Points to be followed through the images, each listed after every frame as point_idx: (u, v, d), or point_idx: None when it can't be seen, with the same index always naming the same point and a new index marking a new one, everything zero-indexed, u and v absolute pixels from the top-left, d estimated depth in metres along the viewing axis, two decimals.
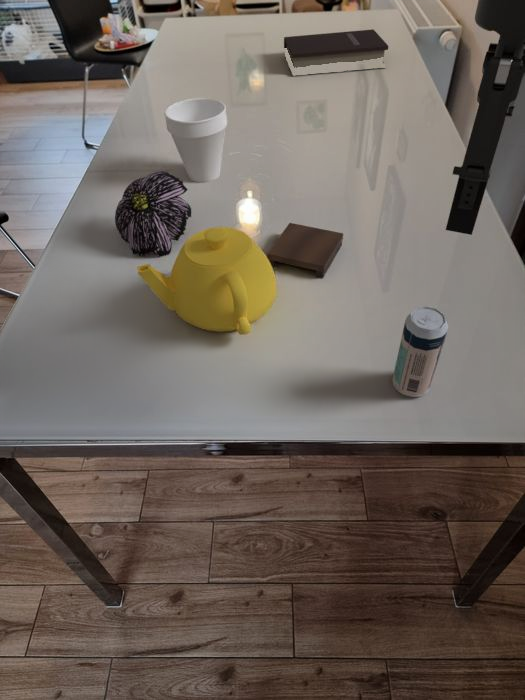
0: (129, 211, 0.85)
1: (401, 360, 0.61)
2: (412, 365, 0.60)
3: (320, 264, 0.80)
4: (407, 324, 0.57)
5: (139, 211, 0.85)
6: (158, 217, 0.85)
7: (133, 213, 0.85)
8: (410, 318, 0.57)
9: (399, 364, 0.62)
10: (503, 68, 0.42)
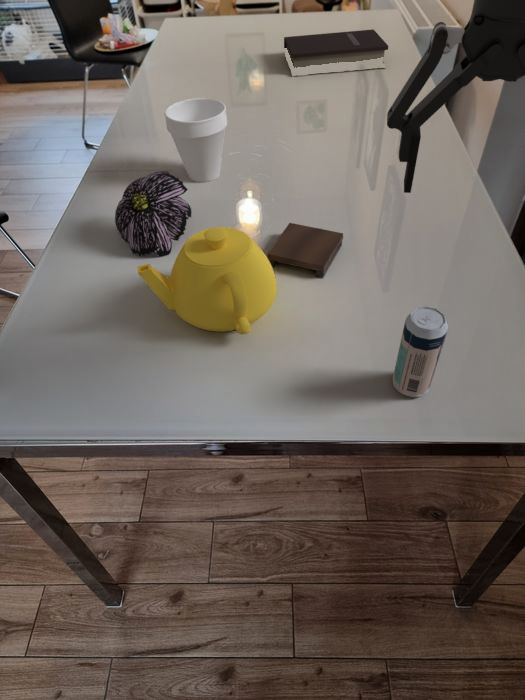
0: (129, 211, 0.85)
1: (401, 360, 0.61)
2: (412, 365, 0.60)
3: (320, 264, 0.80)
4: (407, 324, 0.57)
5: (139, 211, 0.85)
6: (158, 217, 0.85)
7: (133, 213, 0.85)
8: (410, 318, 0.57)
9: (399, 364, 0.62)
10: (433, 32, 0.47)
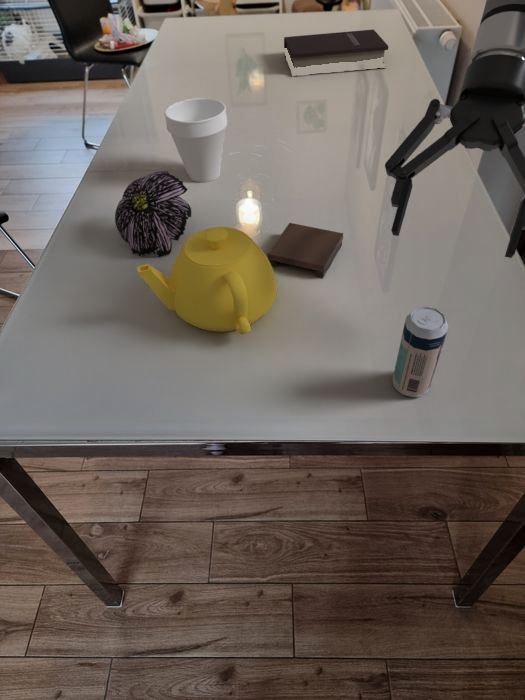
0: (129, 211, 0.85)
1: (401, 360, 0.61)
2: (412, 365, 0.60)
3: (320, 264, 0.80)
4: (407, 324, 0.57)
5: (139, 211, 0.85)
6: (158, 217, 0.85)
7: (133, 213, 0.85)
8: (410, 318, 0.57)
9: (399, 364, 0.62)
10: None
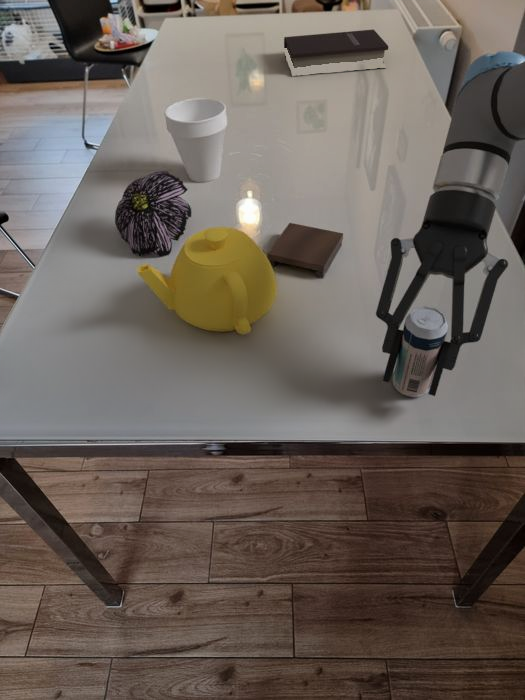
0: (129, 211, 0.85)
1: (401, 360, 0.61)
2: (412, 365, 0.60)
3: (320, 264, 0.80)
4: (407, 324, 0.57)
5: (139, 211, 0.85)
6: (158, 217, 0.85)
7: (133, 213, 0.85)
8: (410, 318, 0.57)
9: (399, 364, 0.62)
10: None
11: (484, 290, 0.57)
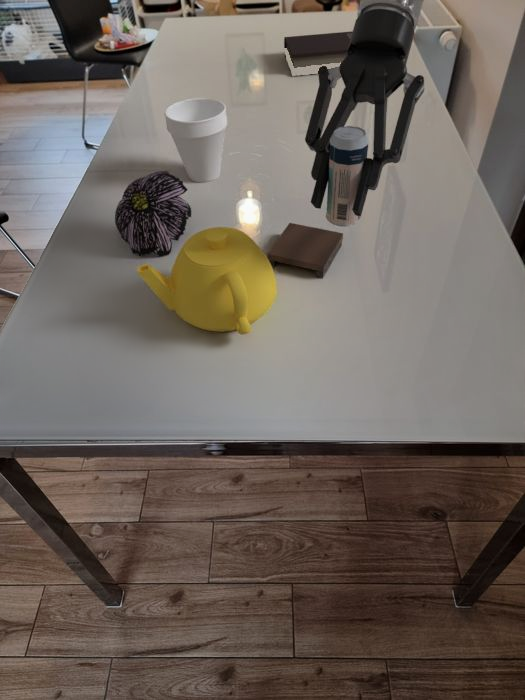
0: (129, 211, 0.85)
1: (329, 184, 0.64)
2: (338, 185, 0.63)
3: (320, 264, 0.80)
4: (331, 140, 0.61)
5: (139, 211, 0.85)
6: (158, 217, 0.85)
7: (133, 213, 0.85)
8: (333, 134, 0.61)
9: (328, 190, 0.65)
10: None
11: (402, 106, 0.60)
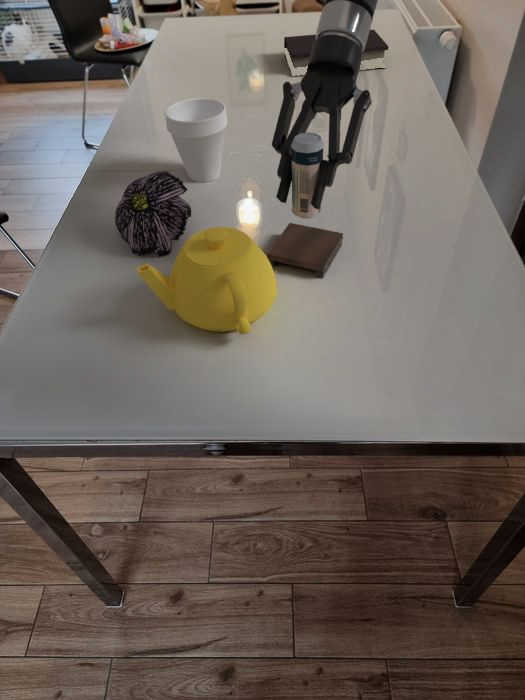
0: (129, 211, 0.85)
1: (292, 182, 0.76)
2: (299, 183, 0.74)
3: (320, 264, 0.80)
4: (292, 144, 0.72)
5: (139, 211, 0.85)
6: (158, 217, 0.85)
7: (133, 213, 0.85)
8: (294, 139, 0.72)
9: (292, 187, 0.76)
10: None
11: (352, 116, 0.71)
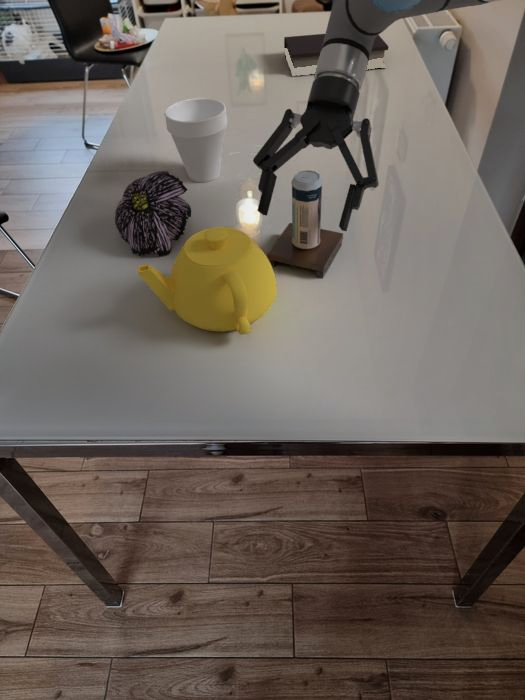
0: (129, 211, 0.85)
1: (293, 216, 0.80)
2: (299, 217, 0.79)
3: (320, 264, 0.80)
4: (292, 182, 0.76)
5: (139, 211, 0.85)
6: (158, 217, 0.85)
7: (133, 213, 0.85)
8: (294, 177, 0.76)
9: (292, 220, 0.81)
10: None
11: (363, 145, 0.75)
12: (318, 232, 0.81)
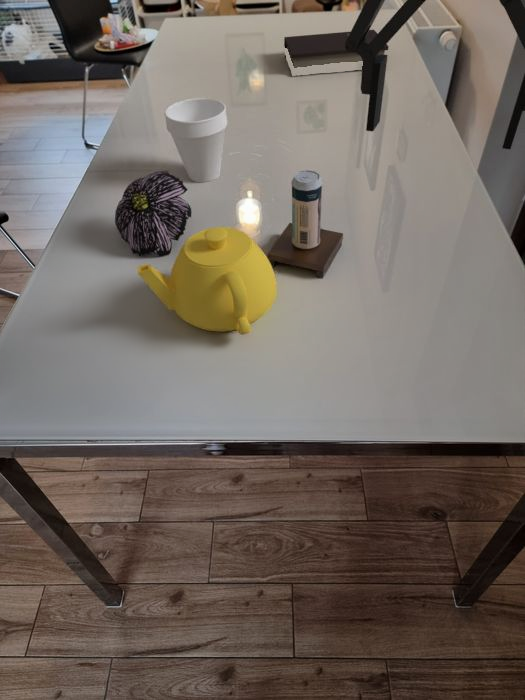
0: (129, 211, 0.85)
1: (292, 216, 0.80)
2: (299, 217, 0.79)
3: (320, 264, 0.80)
4: (292, 182, 0.76)
5: (139, 211, 0.85)
6: (158, 217, 0.85)
7: (133, 213, 0.85)
8: (294, 177, 0.76)
9: (292, 220, 0.81)
10: None
11: None
12: (318, 232, 0.81)
